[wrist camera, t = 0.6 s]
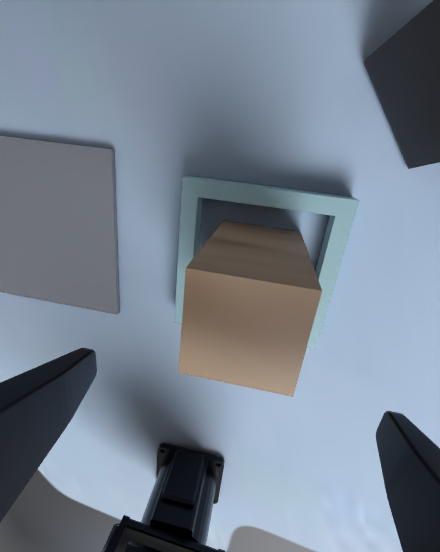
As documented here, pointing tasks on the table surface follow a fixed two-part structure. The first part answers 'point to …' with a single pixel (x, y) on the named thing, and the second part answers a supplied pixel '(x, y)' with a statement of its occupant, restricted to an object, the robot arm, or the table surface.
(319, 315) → the pocket frame
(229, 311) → the oak block
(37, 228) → the pad
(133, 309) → the table surface
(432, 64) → the phone stand
